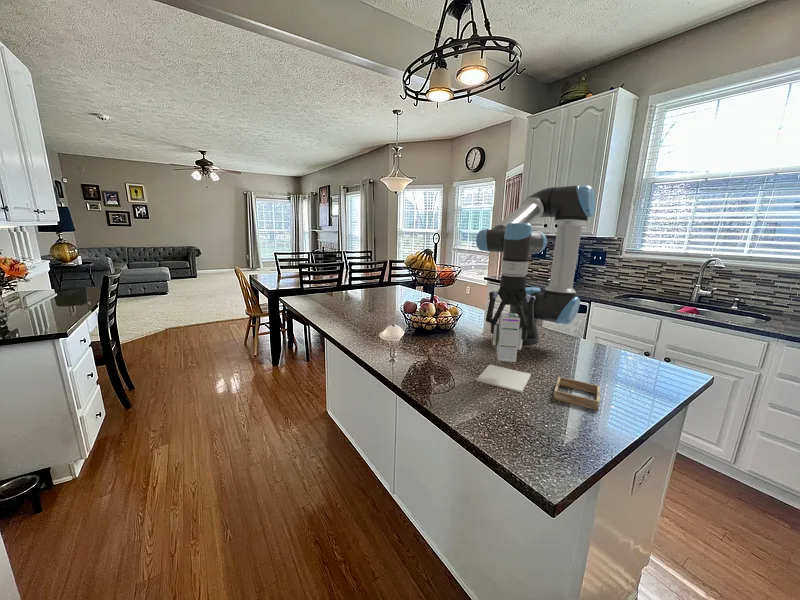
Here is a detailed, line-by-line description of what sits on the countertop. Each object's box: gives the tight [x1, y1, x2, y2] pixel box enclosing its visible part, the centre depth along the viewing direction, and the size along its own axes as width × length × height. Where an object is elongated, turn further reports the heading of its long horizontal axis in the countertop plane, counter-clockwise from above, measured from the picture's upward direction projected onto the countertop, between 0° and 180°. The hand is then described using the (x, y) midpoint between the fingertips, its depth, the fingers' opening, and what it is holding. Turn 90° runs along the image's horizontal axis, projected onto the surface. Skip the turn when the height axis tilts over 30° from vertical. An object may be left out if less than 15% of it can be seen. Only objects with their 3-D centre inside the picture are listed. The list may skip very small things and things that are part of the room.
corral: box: [552, 376, 601, 411], centre depth 96 cm, size 11×11×2 cm
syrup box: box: [496, 312, 520, 363], centre depth 103 cm, size 6×6×14 cm
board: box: [476, 364, 532, 394], centre depth 107 cm, size 14×14×1 cm
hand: (507, 346), depth 104 cm, fingers closed on syrup box, 7 cm apart
